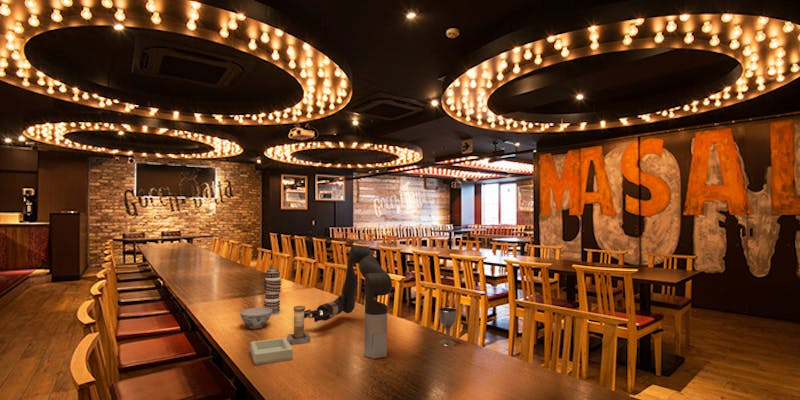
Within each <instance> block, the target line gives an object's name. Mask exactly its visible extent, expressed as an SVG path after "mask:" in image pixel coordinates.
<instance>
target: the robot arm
mask: <svg viewBox="0 0 800 400" xmlns="http://www.w3.org/2000/svg"><path fill="white" fill-rule="evenodd" d="M354 264H358V269H359V272H360V274H361V276H362V277H363V278H364V339H363V340H364V345H363V346H364V348H363V349H364V351H363V353H364V356H365V357H367V358H370V359H373V360H374V359H375V360H376V359H382V358H387V357H388V350H387V349H388V306H387V304H386V303H383V302H380V301H377V300H375V299H374V297H377V296H378V297H379V296H386V295H389V294H391V292H392V289H393V283H392V279H391V276H390V274H389V273H388V272H387V271H386V270H385V269H383V268H382V266H381V265H380V264H379V262H378V260H377V259H376V258H375V256H374V254H373V250H372V249H371V248H370V247H368V246H364V245H357V244H353V245H351V248H350V250H349V252H348V258H347V265H346V266H347V267H346V273H345V278H344V283H343V287H342V289H341V294H342V295H339V296H337V297H336V299H334V300H333V301H330V302H326V303H323V304H321V305H318V306H317V308H316V309H314V310H313V309H312V310H311V309H307V310H306V309H305V310H304V319H314V321H313V322H315V323H317V322H319V321H324V322H326V321H328V320H331V319H332V318H333V317H335V316H337V315H339V314H342V312H343V313H345V314H350V313H352V312H353V311H354V309H355V306H356V291H357V288H358V278H357V275H356V273H355V269H354V268H355V267H354Z"/></svg>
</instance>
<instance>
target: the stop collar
mask: <svg viewBox="0 0 800 400" xmlns="http://www.w3.org/2000/svg"><path fill="white" fill-rule="evenodd" d="M286 339H287V341H288V343H289V344H290V345H293V346H295V345H302V344H303V345H304V344H308V343H310V342H311V335H310V334H309V333H308V332H305V331H304V338H297V339H294V333H288V335H286Z"/></svg>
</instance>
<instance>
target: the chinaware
mask: <svg viewBox="0 0 800 400" xmlns="http://www.w3.org/2000/svg"><path fill="white" fill-rule="evenodd" d="M271 313H272V310H271V309H269V308H264V307H253V308H247V309H243V310H241V311H240V313H239V314H240V318H241V320H242V321H243V323H244V324H245V325H246V326H248V328H249V329H253V330H254V329H255V330H256V329H261V328H263V327H264V325H265V324H266V323H267V322H268V321H269V320H270V318H271V317H272V316H271Z"/></svg>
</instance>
